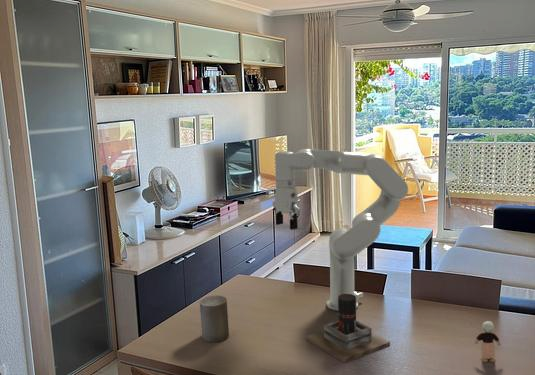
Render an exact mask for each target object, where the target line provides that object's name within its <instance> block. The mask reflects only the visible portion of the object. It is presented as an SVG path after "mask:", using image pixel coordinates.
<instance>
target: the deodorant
mask: <svg viewBox="0 0 535 375" xmlns="http://www.w3.org/2000/svg"><path fill="white" fill-rule="evenodd" d="M356 301H357V299H356V296H354V295H352V294H341V295H339V296H338V311H337V313H338V314H337V315H338V320H337V321H338V322H339V332H341V333H343V334H345V335H348V334H351V333H354V332H356V321H357V308H356ZM353 340H355V339H353ZM350 341H352V340H350Z"/></svg>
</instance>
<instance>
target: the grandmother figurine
mask: <svg viewBox="0 0 535 375" xmlns="http://www.w3.org/2000/svg"><path fill="white" fill-rule="evenodd" d="M494 328H495V327H494V324H493V322H492V321H489V320H487V321H484V322H483V323H482V330H483V331H484V332H481V333H480V334H478V335H477V336H476V339H475V340H474V344H475V345H478V344H479V342H480V341H481V356H480V360H481V361H482V362H485V363H486V362H488V361H490V362H492V363H494V362H496V357H495V354H496V353H495V352H496V351H495V342H496V344H497V346H498V347H501V345H502V343H501V341H500V338H499V337H498V336H497V335H496V334H495V333H493V330H494ZM494 341H495V342H494Z"/></svg>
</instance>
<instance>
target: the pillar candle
mask: <svg viewBox="0 0 535 375" xmlns="http://www.w3.org/2000/svg"><path fill="white" fill-rule="evenodd" d="M199 310H200V324H201V337H202V339H203V340H204V342H207V343H219V342H223V341H225V340H227V339H229V337H230V332H229V331H230V330H229V329H230V328H229V314H228V301H227V297H225V296H223V295H215V294H214V295H208V296H205V297H202V298H201V299H200V301H199Z"/></svg>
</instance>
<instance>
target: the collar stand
mask: <svg viewBox="0 0 535 375" xmlns="http://www.w3.org/2000/svg"><path fill="white" fill-rule="evenodd" d="M353 339H355V340H353ZM306 340H308V341H309V342H310V343H312V344H313V345H315V346H317V347H318V348H320V349H322V350H323V351H324V352H326V353H328V354H330V355H331V356H333V357H334V358H336V359H338V360H339V361H341V362H342V363H348V362H349V361H353V360H354V359H357V358H360V357H362V356H366V355H368V354H371V353H373V352H376V351H378V350H381V349H383V348H386V347H388V346H391V341H389V340H387V339H385V338H383V337H381V335H378V334H375V333H374V332H373V331H372V327H370V326H368V325H366V324H364V323H361V322H360V321H358V320H356V332H354V333H351V334H348V335H345V334H343V333H341V332H339V322H338V320H336V321H333V322H330V323H329V322H328V323H327V324H324V325H323V330H320V331H318V332H314V333H311V334H309V335H306ZM350 340H352V341H350Z"/></svg>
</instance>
